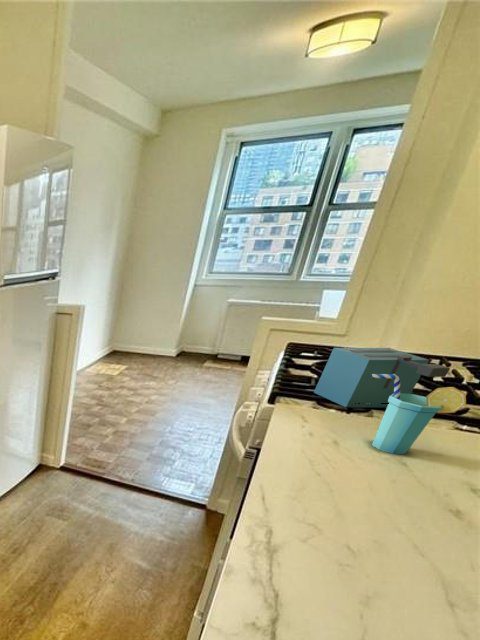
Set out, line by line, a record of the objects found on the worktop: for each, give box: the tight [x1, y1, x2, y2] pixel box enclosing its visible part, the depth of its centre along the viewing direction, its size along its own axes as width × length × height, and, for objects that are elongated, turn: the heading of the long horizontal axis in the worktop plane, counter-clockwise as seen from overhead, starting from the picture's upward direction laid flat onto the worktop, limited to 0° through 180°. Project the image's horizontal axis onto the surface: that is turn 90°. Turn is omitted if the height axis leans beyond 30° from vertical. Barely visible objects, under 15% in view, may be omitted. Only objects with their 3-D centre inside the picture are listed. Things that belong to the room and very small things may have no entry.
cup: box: [371, 374, 467, 455], centre depth 95 cm, size 14×8×15 cm, turn 57°
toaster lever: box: [398, 359, 451, 378], centre depth 108 cm, size 4×9×2 cm, turn 0°
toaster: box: [313, 347, 430, 408], centre depth 118 cm, size 14×12×13 cm
